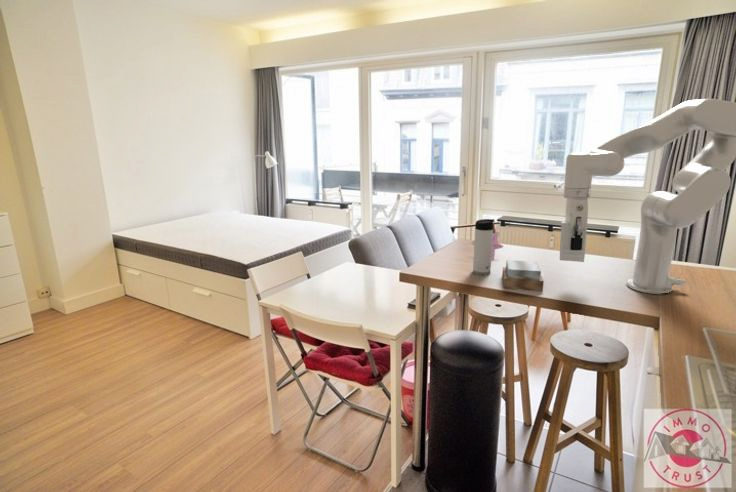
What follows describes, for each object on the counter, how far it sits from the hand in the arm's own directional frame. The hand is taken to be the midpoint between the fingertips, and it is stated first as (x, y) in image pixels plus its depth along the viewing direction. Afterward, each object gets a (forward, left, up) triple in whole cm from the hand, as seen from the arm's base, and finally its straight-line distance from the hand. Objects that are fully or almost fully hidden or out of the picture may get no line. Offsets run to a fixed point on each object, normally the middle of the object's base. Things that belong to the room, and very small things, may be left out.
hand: (572, 245), depth 139 cm
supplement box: (0, 0, -4) cm, 4 cm away
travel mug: (+28, -9, -14) cm, 33 cm away
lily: (+26, -31, -14) cm, 43 cm away
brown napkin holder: (+15, 0, -14) cm, 20 cm away
